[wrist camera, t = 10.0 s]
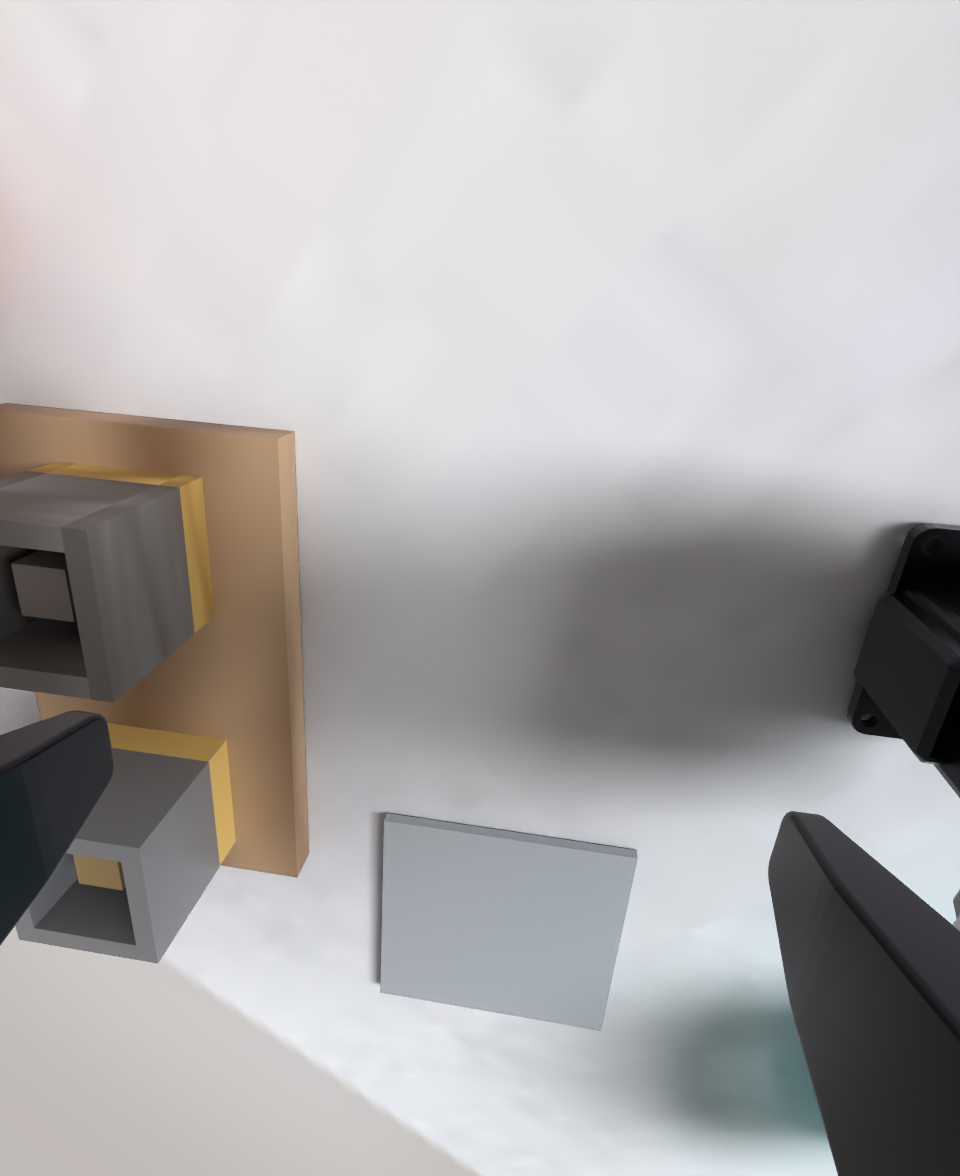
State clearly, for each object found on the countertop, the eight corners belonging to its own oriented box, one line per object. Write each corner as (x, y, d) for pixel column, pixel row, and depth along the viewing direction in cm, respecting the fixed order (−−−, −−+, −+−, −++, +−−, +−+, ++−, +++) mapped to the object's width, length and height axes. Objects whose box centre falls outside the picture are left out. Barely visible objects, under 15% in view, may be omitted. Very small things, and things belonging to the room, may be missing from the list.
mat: (636, 850, 24) (637, 858, 24) (600, 1020, 27) (600, 1030, 27) (386, 812, 25) (384, 820, 24) (382, 983, 28) (380, 992, 28)
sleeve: (235, 840, 25) (157, 963, 20) (121, 822, 25) (19, 939, 20) (226, 739, 23) (139, 848, 18) (103, 722, 23) (-13, 824, 19)
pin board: (293, 431, 20) (180, 481, 14) (309, 853, 26) (234, 1006, 20) (7, 403, 20) (-211, 440, 15) (88, 819, 27) (-43, 956, 21)
